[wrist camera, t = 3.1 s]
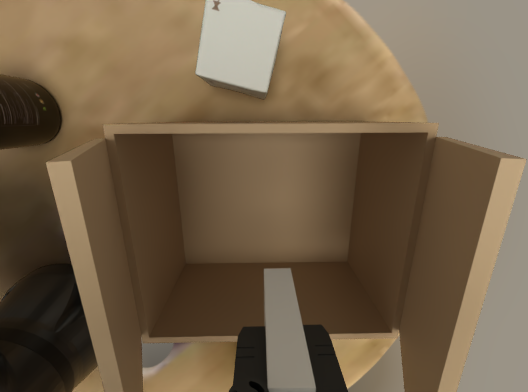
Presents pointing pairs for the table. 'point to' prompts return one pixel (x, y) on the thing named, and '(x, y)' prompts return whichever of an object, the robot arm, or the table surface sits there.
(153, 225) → the carton
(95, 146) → the flap
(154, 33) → the table surface
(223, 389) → the table surface
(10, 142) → the supplement bottle
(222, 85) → the product box
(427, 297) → the flap
